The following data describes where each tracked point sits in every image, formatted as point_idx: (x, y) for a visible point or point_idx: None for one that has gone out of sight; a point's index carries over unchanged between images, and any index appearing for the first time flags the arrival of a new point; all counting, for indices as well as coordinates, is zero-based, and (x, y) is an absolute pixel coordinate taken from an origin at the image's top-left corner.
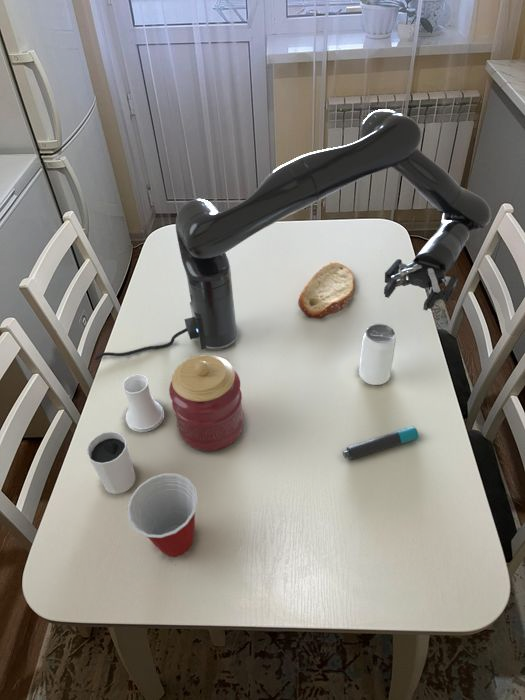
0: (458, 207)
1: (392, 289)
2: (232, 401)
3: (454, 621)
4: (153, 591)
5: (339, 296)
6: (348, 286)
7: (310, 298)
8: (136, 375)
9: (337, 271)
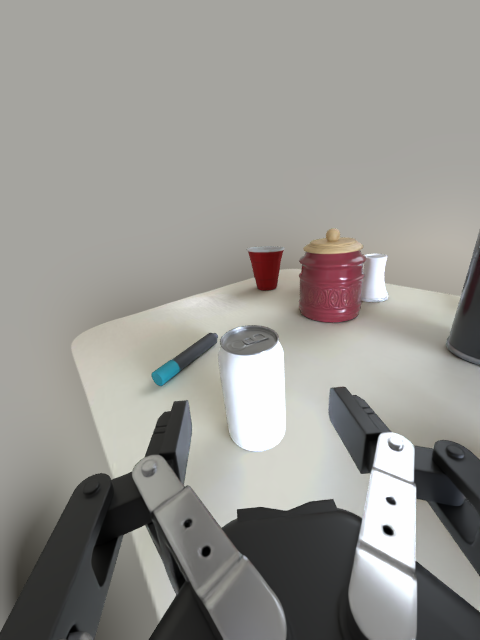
0: None
1: (346, 430)
2: (300, 262)
3: (108, 322)
4: (254, 281)
5: None
6: None
7: None
8: (386, 256)
9: None
